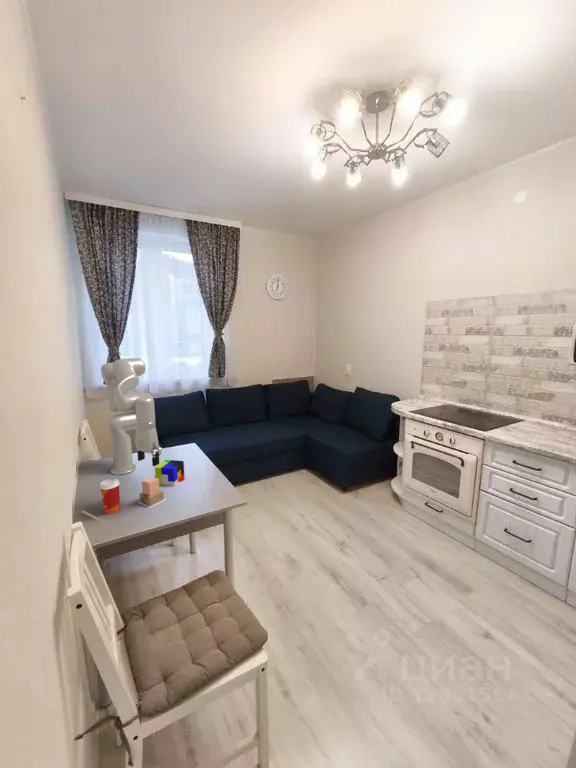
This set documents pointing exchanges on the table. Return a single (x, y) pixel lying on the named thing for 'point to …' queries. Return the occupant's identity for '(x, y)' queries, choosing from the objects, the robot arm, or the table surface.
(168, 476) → the puzzle toy
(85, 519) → the table surface
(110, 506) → the paper cup
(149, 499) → the base block
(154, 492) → the top block
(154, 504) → the build mat
